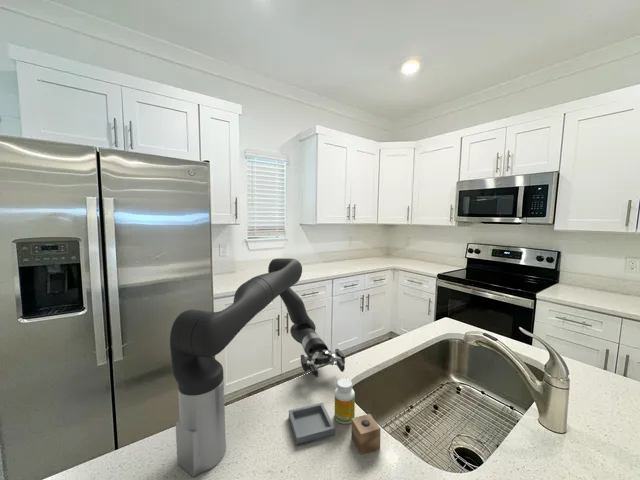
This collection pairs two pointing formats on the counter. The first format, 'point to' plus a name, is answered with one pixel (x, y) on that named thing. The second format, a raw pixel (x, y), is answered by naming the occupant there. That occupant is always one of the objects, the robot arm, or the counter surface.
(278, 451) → the counter surface
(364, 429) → the wooden block with knob
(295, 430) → the tray
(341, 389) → the supplement bottle
